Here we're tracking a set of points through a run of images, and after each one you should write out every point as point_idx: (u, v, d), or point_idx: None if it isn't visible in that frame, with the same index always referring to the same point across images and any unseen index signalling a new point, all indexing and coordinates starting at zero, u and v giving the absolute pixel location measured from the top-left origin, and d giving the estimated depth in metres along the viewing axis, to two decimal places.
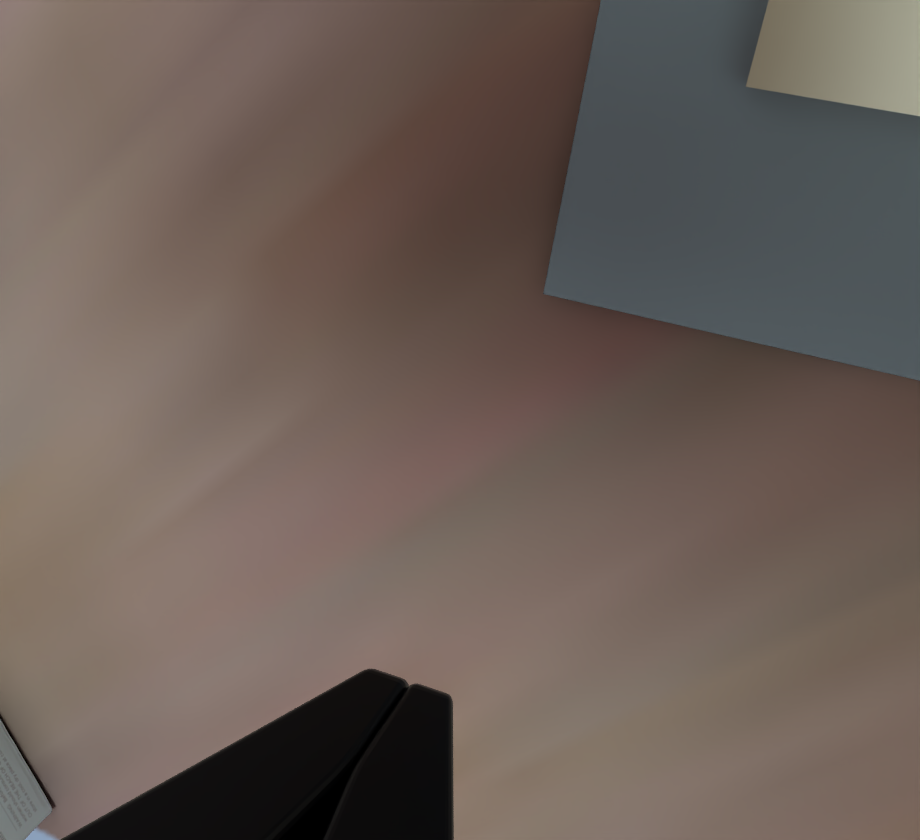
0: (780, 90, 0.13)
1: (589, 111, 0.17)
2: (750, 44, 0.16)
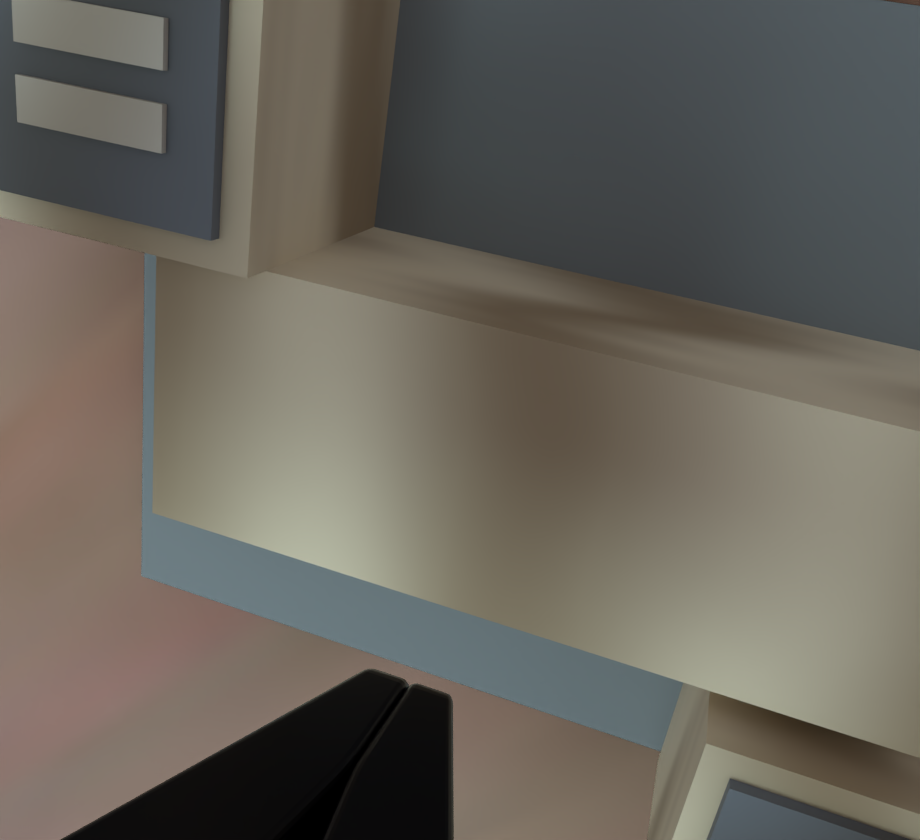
0: (176, 520, 0.14)
1: (150, 433, 0.19)
2: None
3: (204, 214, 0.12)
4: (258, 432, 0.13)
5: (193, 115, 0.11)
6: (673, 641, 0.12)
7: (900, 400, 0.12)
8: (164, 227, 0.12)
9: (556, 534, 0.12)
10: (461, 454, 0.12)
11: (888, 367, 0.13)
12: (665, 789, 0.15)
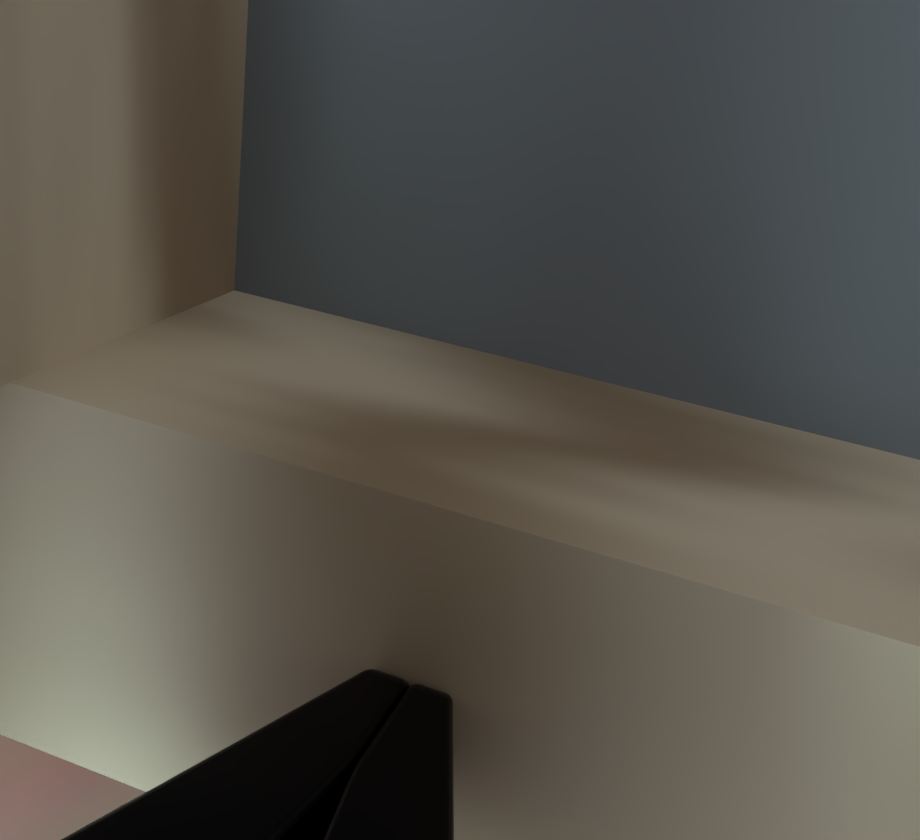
0: None
1: None
2: None
3: None
4: (29, 604, 0.09)
5: None
6: None
7: None
8: None
9: None
10: (306, 654, 0.08)
11: None
12: None
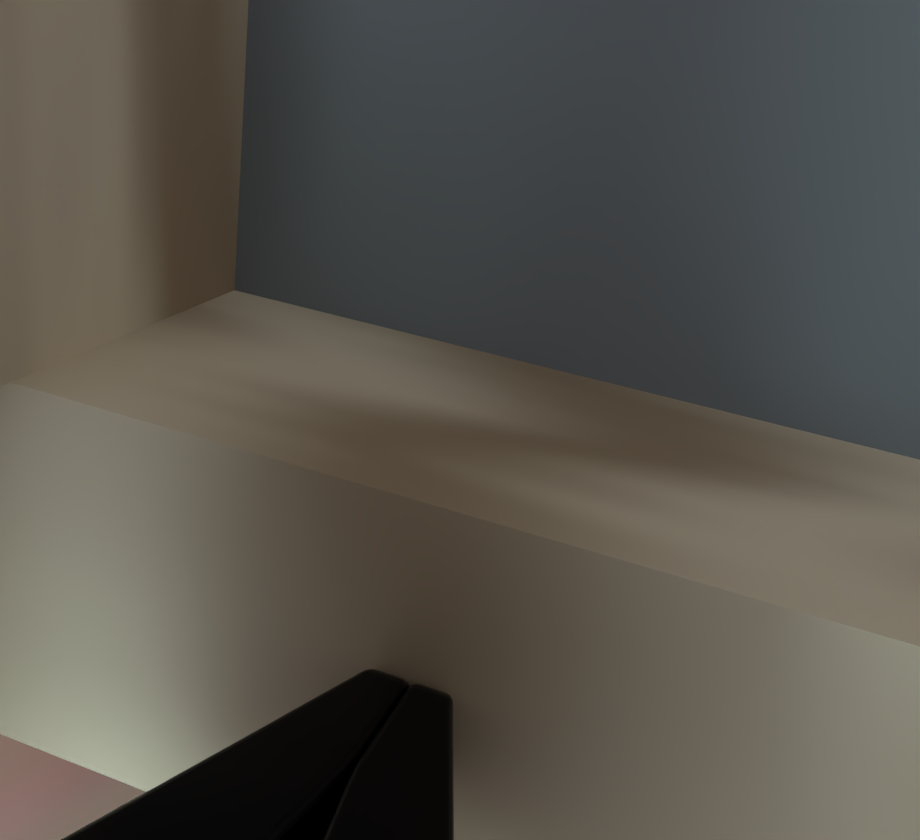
0: None
1: None
2: None
3: None
4: (29, 604, 0.09)
5: None
6: None
7: None
8: None
9: None
10: (306, 654, 0.08)
11: None
12: None
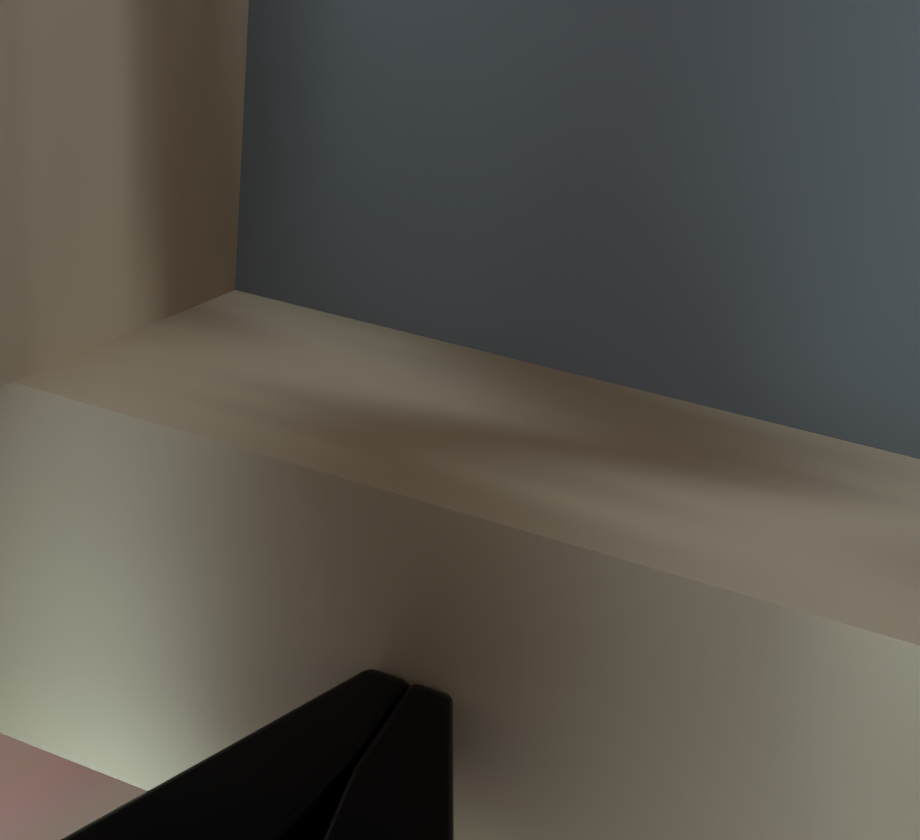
0: None
1: None
2: None
3: None
4: (30, 604, 0.09)
5: None
6: None
7: None
8: None
9: None
10: (306, 654, 0.08)
11: None
12: None
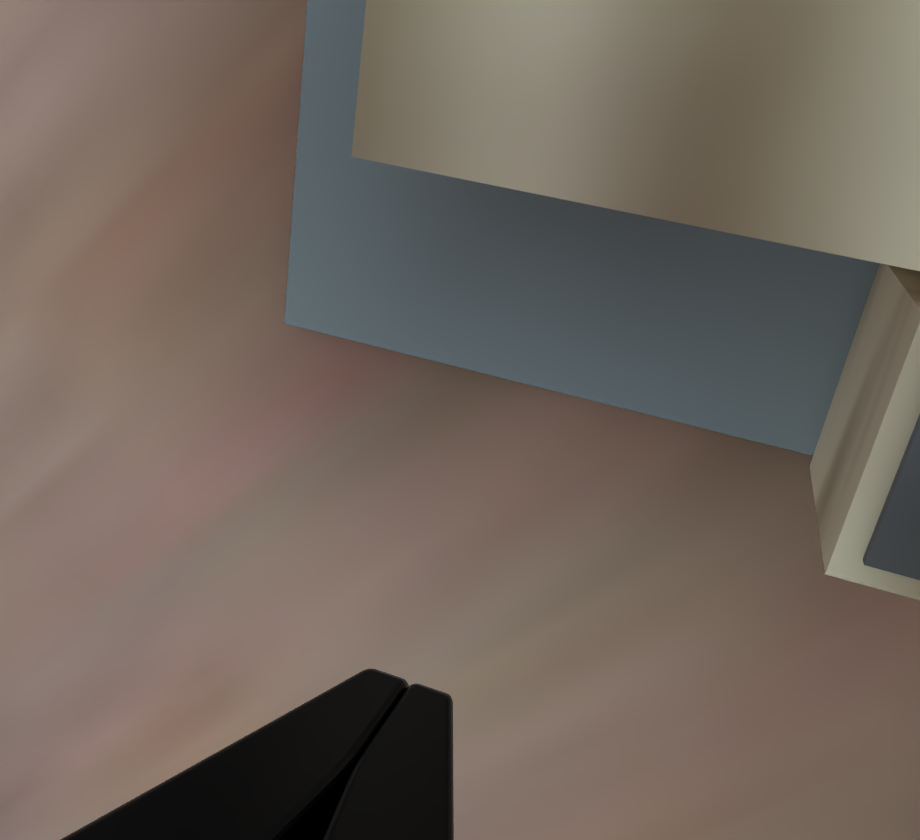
0: (377, 160, 0.15)
1: (304, 163, 0.20)
2: None
3: None
4: (470, 47, 0.14)
5: None
6: (887, 220, 0.13)
7: None
8: None
9: (774, 116, 0.13)
10: (681, 39, 0.13)
11: None
12: (841, 445, 0.16)
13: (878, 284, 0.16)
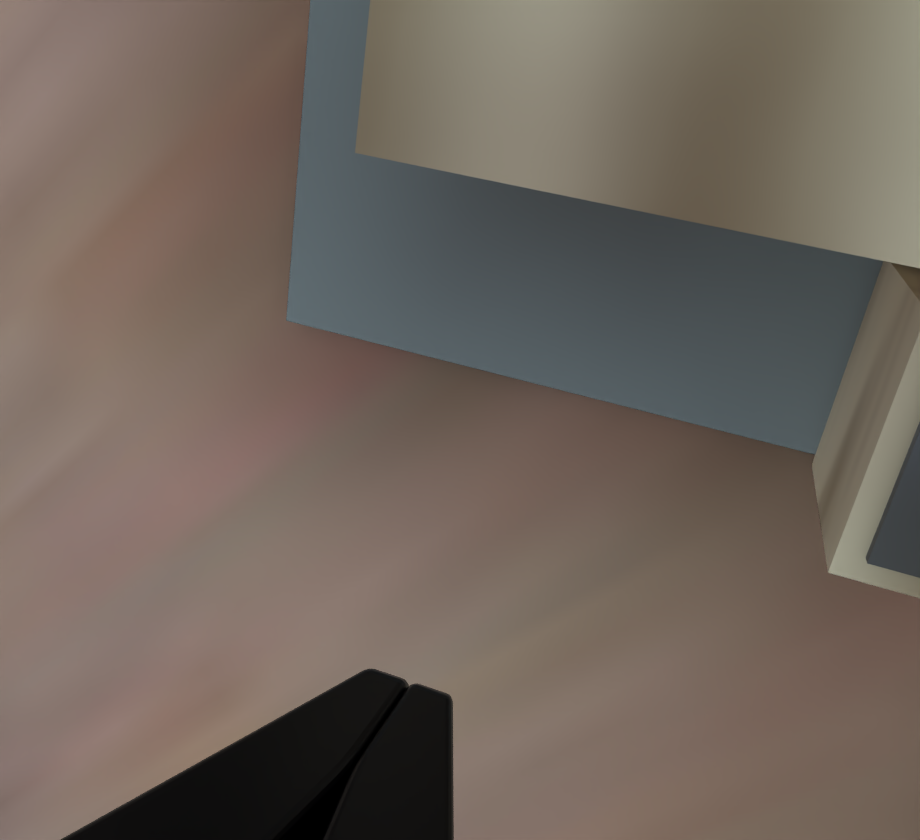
0: (380, 156, 0.15)
1: (306, 159, 0.19)
2: None
3: None
4: (475, 43, 0.14)
5: None
6: (892, 218, 0.13)
7: None
8: None
9: (778, 114, 0.13)
10: (686, 36, 0.13)
11: None
12: (844, 443, 0.16)
13: (881, 282, 0.16)
